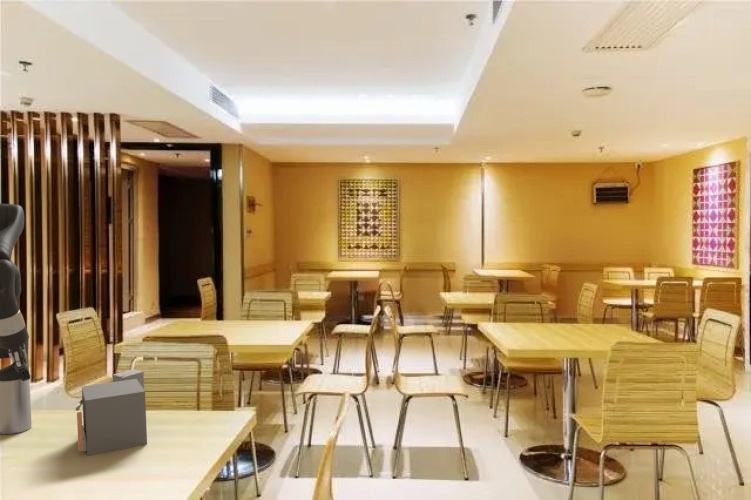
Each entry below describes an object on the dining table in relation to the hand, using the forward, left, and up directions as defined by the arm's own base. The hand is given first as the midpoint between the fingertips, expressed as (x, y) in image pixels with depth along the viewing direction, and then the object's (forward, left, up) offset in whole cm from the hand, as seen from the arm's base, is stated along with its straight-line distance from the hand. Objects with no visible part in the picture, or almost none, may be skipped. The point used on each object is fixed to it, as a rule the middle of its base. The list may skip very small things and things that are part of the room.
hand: (26, 378), depth 166 cm
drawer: (+2, +20, -21) cm, 29 cm away
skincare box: (-20, +29, -22) cm, 42 cm away
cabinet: (+2, +22, -22) cm, 32 cm away
